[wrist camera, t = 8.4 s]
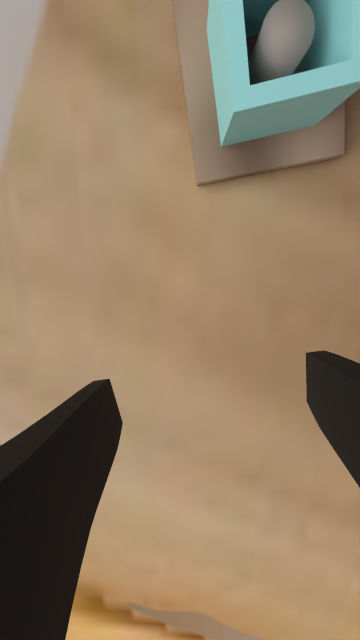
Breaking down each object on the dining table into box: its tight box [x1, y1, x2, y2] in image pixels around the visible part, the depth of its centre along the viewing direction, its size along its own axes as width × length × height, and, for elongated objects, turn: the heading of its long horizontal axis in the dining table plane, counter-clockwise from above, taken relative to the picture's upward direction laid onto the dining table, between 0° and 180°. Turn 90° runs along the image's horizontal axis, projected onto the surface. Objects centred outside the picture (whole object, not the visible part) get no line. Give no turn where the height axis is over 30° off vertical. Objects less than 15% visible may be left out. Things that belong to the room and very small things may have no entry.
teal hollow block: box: [207, 0, 360, 147], centre depth 11 cm, size 5×5×4 cm
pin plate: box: [172, 0, 345, 186], centre depth 12 cm, size 8×8×4 cm
